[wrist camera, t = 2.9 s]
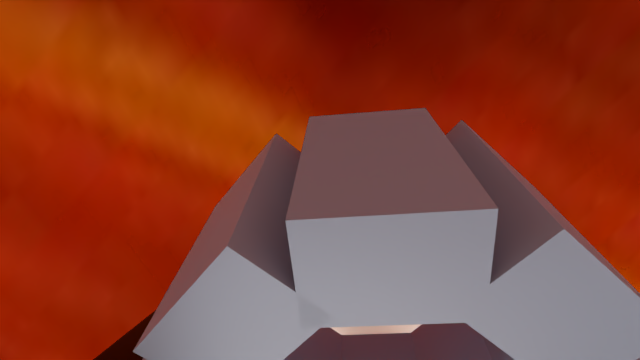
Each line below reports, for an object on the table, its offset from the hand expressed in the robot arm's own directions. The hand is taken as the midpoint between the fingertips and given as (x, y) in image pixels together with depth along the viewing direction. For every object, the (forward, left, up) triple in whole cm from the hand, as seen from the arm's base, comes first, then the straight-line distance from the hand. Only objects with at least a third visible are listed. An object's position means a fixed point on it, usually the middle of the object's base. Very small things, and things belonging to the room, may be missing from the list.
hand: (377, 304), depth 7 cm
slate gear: (0, 0, -1) cm, 1 cm away
